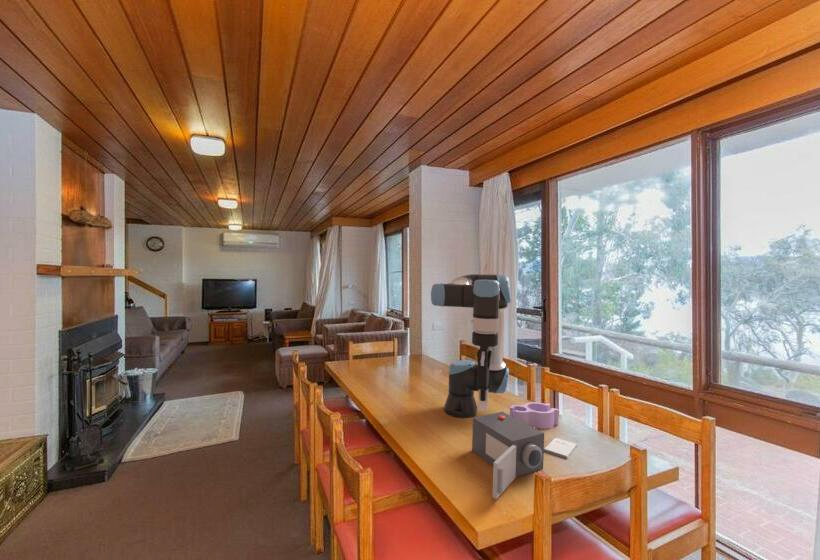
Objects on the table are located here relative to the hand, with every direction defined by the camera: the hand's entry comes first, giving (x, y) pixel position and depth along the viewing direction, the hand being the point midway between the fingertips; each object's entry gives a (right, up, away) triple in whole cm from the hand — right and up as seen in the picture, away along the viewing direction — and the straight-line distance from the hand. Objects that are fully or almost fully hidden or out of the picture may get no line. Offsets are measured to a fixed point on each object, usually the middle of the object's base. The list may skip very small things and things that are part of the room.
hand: (482, 410), depth 108 cm
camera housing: (+12, -23, +16) cm, 31 cm away
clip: (+31, -24, +49) cm, 63 cm away
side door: (+7, -23, -1) cm, 24 cm away
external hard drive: (+34, -25, +26) cm, 49 cm away
